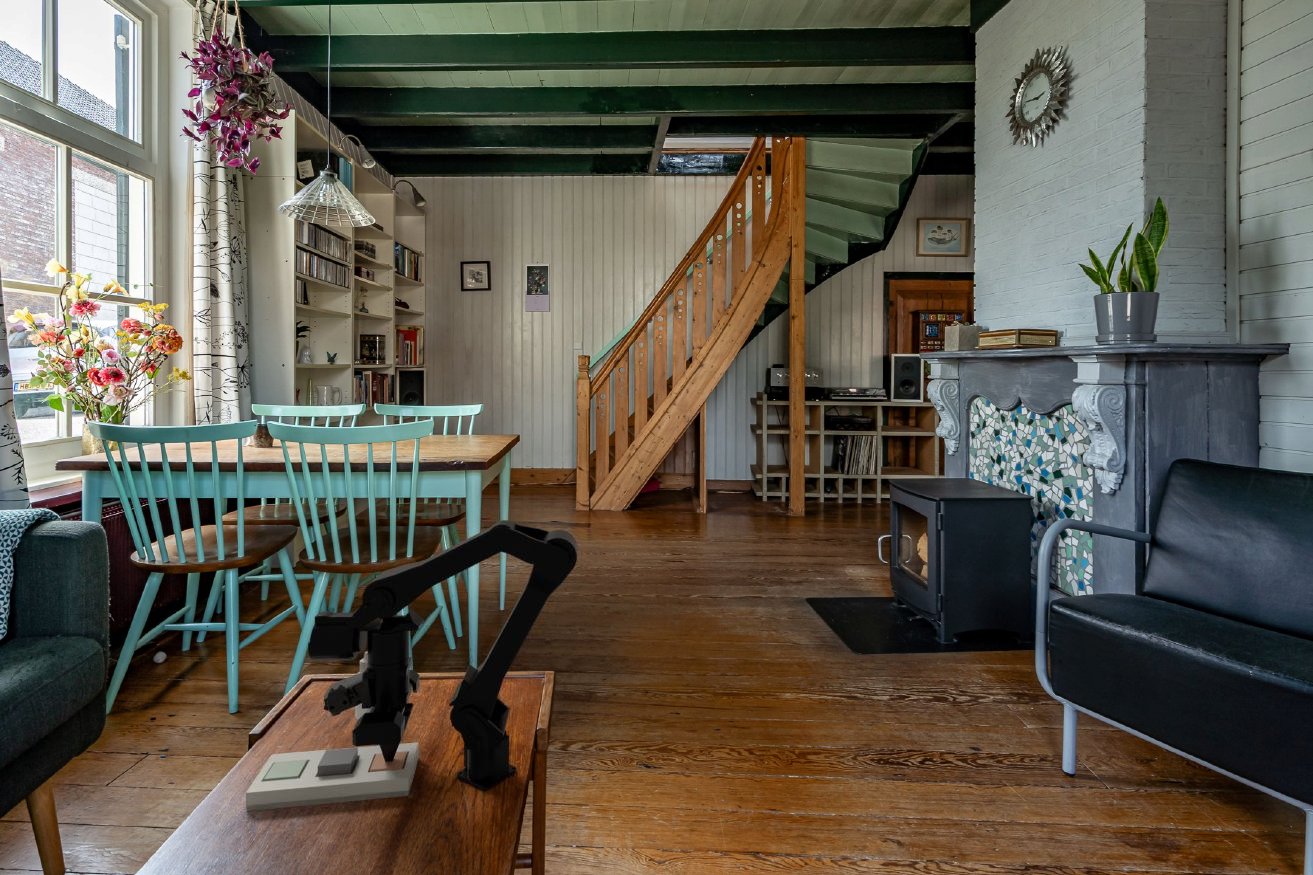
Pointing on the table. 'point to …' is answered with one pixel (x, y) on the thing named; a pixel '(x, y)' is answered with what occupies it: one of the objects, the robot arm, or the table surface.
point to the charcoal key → (338, 762)
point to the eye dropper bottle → (358, 708)
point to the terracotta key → (396, 764)
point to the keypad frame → (332, 781)
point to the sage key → (286, 770)
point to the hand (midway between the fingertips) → (389, 760)
